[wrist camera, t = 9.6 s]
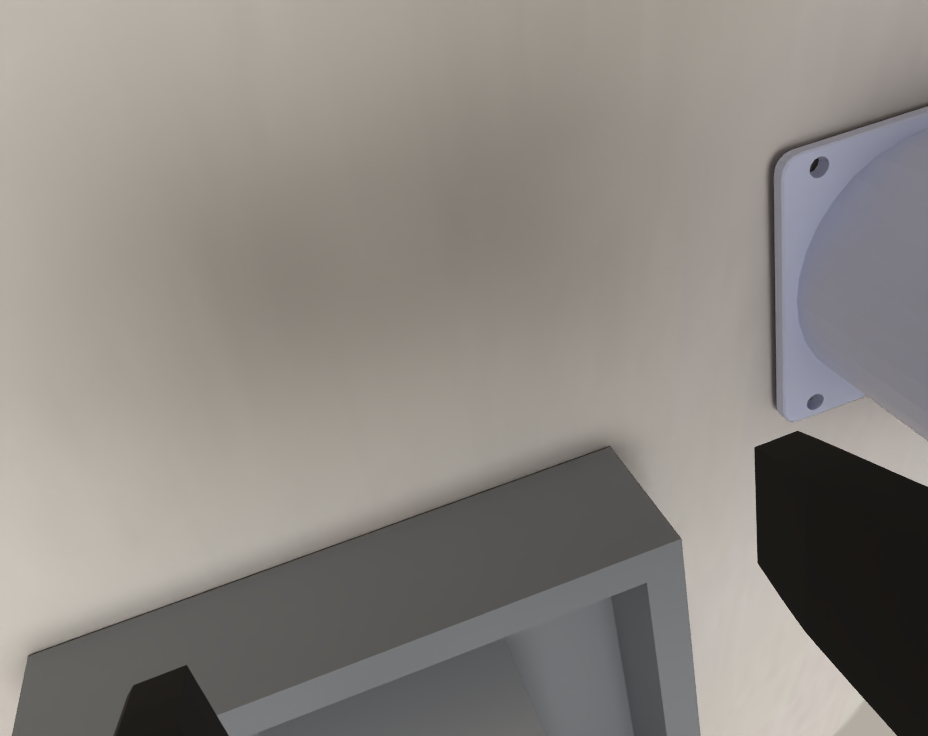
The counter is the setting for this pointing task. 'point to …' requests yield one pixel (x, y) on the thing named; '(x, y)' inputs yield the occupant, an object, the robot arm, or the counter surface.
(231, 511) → the counter surface
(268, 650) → the socket box
